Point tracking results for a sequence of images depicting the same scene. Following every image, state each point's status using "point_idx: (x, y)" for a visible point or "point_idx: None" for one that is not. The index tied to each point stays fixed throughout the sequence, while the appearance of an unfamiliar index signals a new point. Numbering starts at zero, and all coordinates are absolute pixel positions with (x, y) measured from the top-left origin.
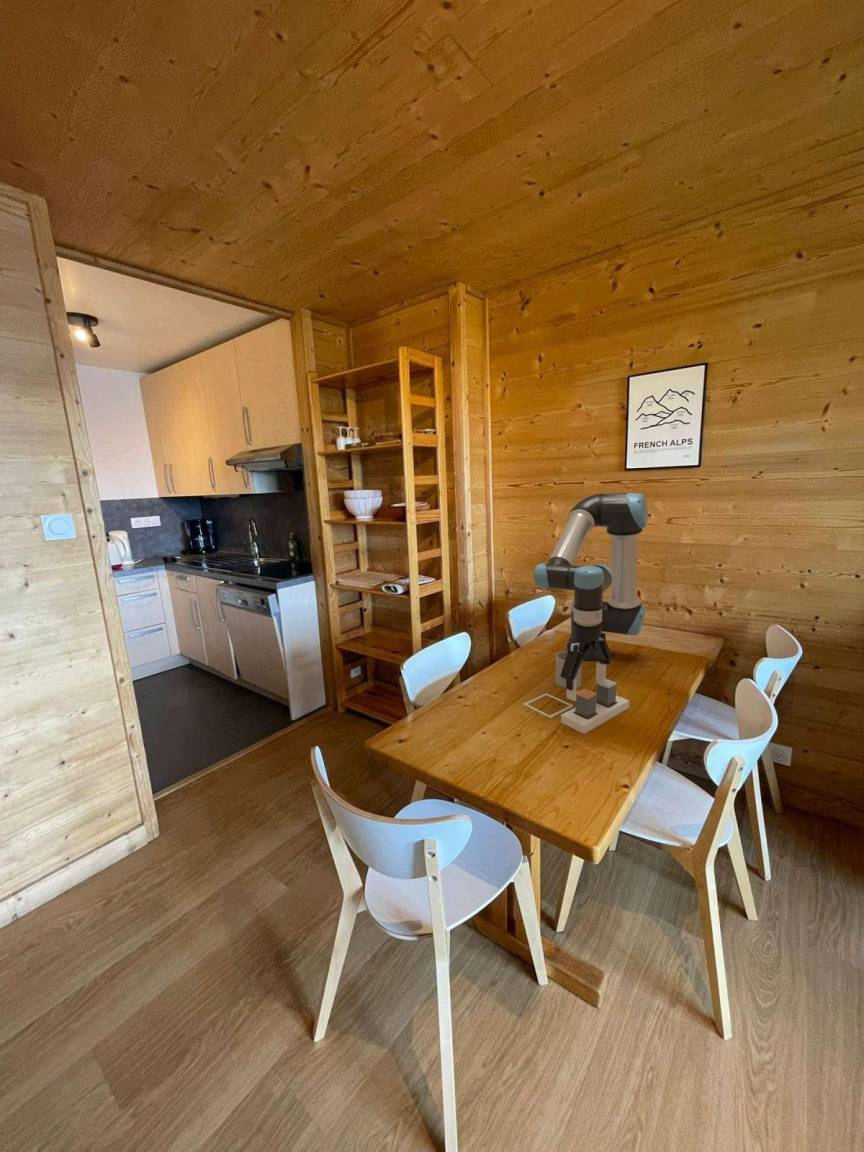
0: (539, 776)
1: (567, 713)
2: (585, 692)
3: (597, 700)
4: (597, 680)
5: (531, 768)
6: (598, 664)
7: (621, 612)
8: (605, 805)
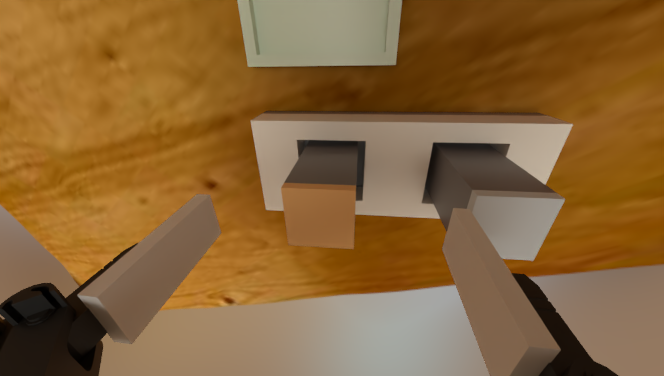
0: (99, 208)
1: (277, 131)
2: (319, 217)
3: (441, 159)
4: (455, 228)
5: (91, 183)
6: (510, 346)
7: None
8: (172, 299)
